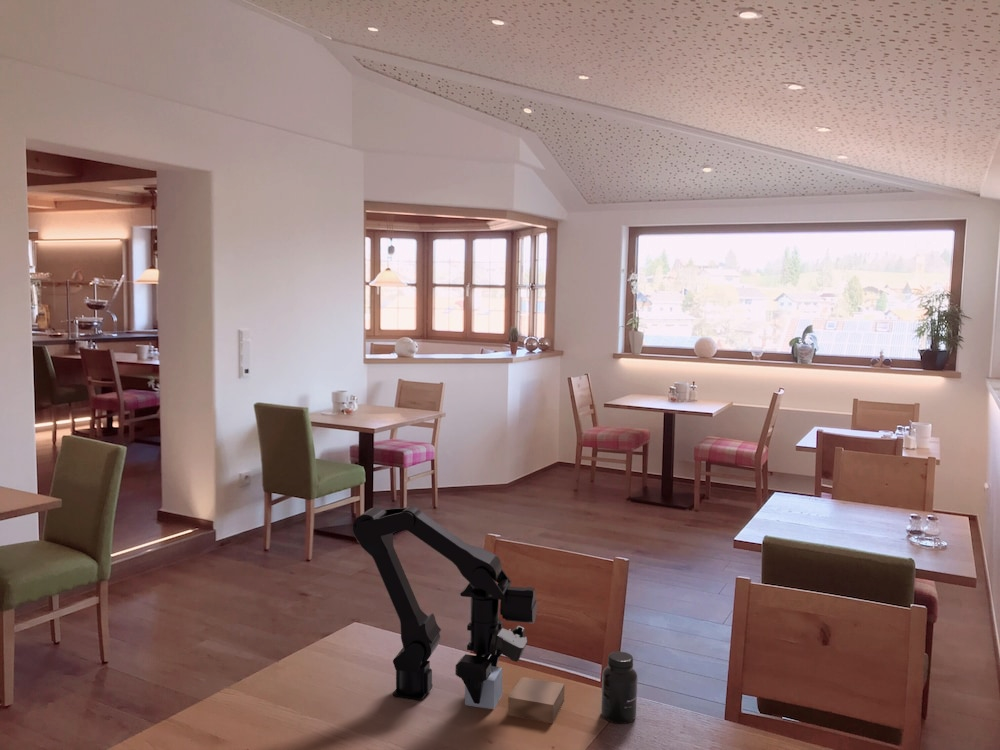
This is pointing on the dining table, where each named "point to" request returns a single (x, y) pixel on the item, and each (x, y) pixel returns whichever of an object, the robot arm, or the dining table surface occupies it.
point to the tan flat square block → (536, 699)
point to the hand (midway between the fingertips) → (483, 692)
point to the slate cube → (488, 690)
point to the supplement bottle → (619, 688)
